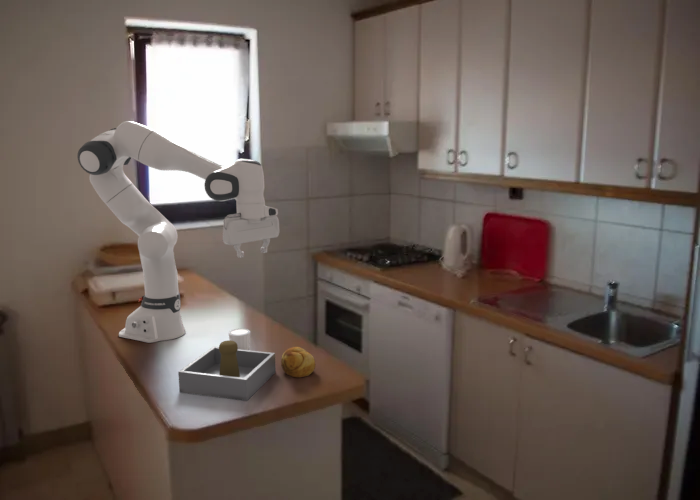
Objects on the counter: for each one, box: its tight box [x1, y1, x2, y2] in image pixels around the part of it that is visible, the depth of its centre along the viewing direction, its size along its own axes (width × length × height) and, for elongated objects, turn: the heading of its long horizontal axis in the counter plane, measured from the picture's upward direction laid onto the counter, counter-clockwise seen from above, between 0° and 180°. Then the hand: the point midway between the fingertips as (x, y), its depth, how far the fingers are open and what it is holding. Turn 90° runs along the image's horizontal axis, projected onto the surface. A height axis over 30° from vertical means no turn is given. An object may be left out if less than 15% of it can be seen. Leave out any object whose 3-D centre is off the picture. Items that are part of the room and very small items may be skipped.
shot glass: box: [228, 328, 251, 350], centre depth 199 cm, size 7×7×7 cm
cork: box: [218, 339, 240, 377], centre depth 176 cm, size 6×6×11 cm
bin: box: [178, 346, 276, 402], centre depth 177 cm, size 20×20×6 cm
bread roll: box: [280, 346, 316, 378], centre depth 184 cm, size 13×10×8 cm
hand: (252, 254), depth 198 cm, fingers open, 8 cm apart
